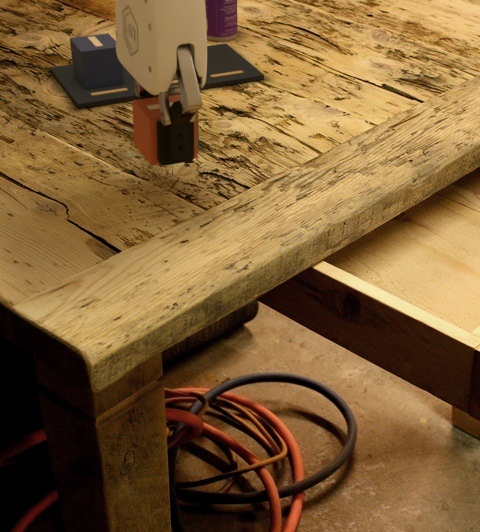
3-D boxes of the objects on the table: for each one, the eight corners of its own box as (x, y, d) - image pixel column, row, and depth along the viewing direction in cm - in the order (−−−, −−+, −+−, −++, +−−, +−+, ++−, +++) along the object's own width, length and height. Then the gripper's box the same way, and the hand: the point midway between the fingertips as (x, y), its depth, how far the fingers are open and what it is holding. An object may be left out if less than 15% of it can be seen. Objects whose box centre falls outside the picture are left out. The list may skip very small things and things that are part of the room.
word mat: (78, 109, 99) (77, 102, 99) (50, 71, 107) (49, 66, 107) (264, 79, 109) (264, 74, 109) (226, 47, 117) (226, 42, 116)
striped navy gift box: (85, 89, 102) (81, 50, 100) (73, 75, 105) (69, 36, 103) (124, 84, 104) (121, 45, 102) (111, 69, 107) (108, 32, 105)
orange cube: (150, 166, 81) (149, 118, 79) (133, 145, 84) (131, 98, 82) (197, 158, 83) (197, 111, 81) (179, 138, 86) (179, 92, 84)
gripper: (82, -83, 78) (95, 118, 88) (153, -24, 66) (158, 200, 76) (167, -86, 81) (171, 108, 91) (249, -31, 69) (242, 184, 79)
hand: (165, 147), depth 83 cm, fingers closed on orange cube, 4 cm apart
